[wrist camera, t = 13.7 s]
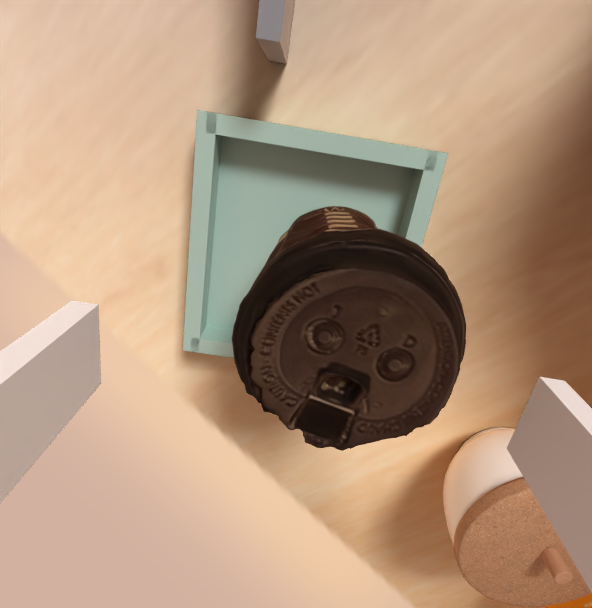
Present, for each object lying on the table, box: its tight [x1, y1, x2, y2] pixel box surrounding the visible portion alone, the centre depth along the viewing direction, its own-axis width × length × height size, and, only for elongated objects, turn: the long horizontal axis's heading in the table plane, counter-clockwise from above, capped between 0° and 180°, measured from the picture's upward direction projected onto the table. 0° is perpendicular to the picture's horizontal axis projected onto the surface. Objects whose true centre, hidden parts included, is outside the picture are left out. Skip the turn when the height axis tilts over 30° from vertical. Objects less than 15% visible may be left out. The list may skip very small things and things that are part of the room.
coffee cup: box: [232, 206, 466, 451], centre depth 20 cm, size 9×8×13 cm
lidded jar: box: [443, 427, 591, 607], centre depth 28 cm, size 11×11×9 cm
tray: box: [183, 110, 448, 358], centre depth 25 cm, size 13×14×2 cm
